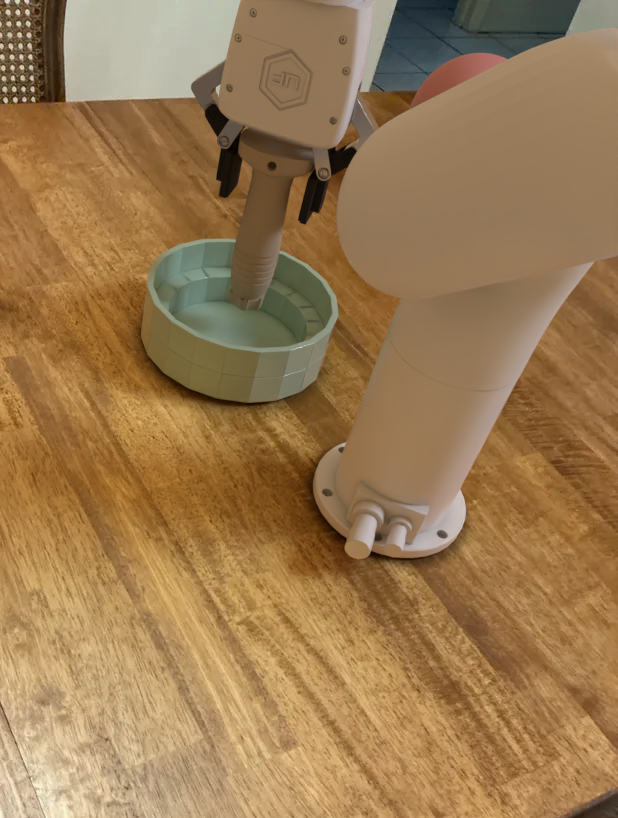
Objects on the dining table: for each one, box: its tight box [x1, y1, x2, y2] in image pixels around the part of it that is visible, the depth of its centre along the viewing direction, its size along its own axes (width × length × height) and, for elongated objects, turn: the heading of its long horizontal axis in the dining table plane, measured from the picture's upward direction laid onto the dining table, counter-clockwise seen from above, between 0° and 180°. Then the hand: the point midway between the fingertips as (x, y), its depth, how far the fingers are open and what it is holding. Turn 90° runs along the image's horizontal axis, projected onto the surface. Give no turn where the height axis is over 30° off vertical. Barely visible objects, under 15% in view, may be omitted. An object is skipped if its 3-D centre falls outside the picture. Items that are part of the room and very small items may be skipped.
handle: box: [229, 127, 315, 311], centre depth 76 cm, size 5×6×15 cm
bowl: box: [140, 238, 339, 404], centre depth 80 cm, size 17×17×6 cm
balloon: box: [408, 52, 509, 110], centre depth 106 cm, size 15×20×15 cm
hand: (267, 202), depth 74 cm, fingers closed on handle, 6 cm apart
